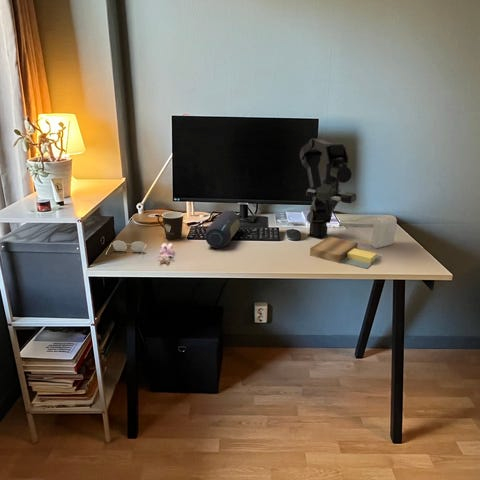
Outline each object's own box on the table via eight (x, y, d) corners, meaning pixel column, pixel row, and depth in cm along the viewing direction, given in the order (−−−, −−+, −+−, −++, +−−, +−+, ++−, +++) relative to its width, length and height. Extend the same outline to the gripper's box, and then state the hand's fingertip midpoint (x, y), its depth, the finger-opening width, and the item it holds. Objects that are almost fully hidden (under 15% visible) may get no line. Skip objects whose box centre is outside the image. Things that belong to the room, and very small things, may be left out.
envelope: (382, 229, 207) (375, 219, 220) (382, 224, 206) (376, 215, 219) (328, 226, 208) (324, 217, 221) (328, 222, 207) (324, 212, 220)
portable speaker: (227, 251, 179) (227, 227, 175) (203, 249, 181) (202, 225, 177) (242, 231, 202) (242, 208, 198) (220, 229, 204) (220, 207, 200)
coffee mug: (187, 238, 192) (187, 215, 188) (168, 242, 187) (167, 219, 184) (175, 231, 201) (174, 208, 197) (156, 234, 196) (155, 212, 193)
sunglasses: (147, 253, 178) (146, 241, 175) (141, 265, 171) (139, 253, 168) (113, 251, 180) (110, 240, 177) (104, 263, 172) (102, 251, 170)
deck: (310, 255, 175) (310, 248, 174) (328, 243, 187) (329, 236, 186) (339, 263, 169) (339, 255, 168) (357, 250, 181) (357, 242, 180)
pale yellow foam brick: (346, 257, 172) (347, 252, 172) (353, 253, 177) (353, 248, 176) (370, 263, 168) (370, 258, 167) (376, 258, 172) (376, 253, 171)
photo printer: (386, 241, 191) (390, 212, 186) (395, 244, 187) (399, 214, 183) (369, 245, 185) (372, 216, 181) (378, 249, 182) (381, 219, 178)
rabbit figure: (173, 268, 167) (176, 247, 180) (171, 254, 164) (175, 233, 177) (155, 268, 167) (160, 247, 180) (154, 254, 164) (158, 234, 177)
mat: (340, 262, 169) (340, 261, 169) (355, 250, 180) (356, 250, 180) (366, 268, 164) (366, 268, 164) (381, 256, 174) (381, 256, 174)
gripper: (300, 177, 176) (298, 216, 181) (346, 184, 165) (342, 225, 171) (314, 172, 184) (311, 210, 190) (358, 178, 174) (355, 218, 179)
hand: (329, 216), depth 182 cm, fingers closed
